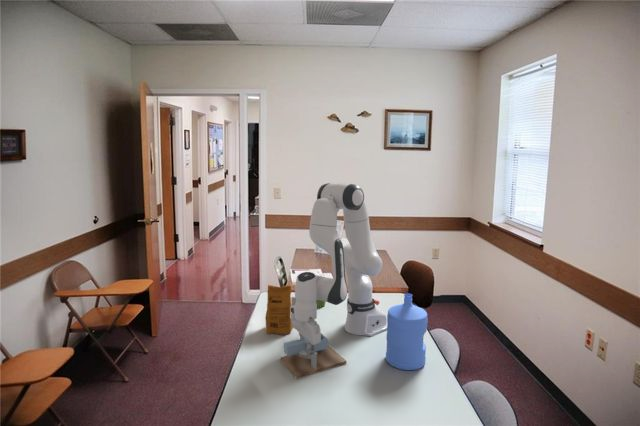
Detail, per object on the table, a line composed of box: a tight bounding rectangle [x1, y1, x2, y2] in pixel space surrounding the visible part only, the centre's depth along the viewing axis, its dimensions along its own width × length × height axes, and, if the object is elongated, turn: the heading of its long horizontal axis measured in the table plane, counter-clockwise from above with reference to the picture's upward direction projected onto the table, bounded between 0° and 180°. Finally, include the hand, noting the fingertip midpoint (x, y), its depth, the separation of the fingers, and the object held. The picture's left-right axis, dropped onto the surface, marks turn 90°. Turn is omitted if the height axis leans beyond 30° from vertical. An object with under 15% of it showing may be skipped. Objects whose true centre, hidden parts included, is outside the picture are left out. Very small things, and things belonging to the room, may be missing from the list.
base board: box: [279, 344, 347, 379], centre depth 172 cm, size 22×15×1 cm
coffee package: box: [265, 284, 293, 336], centre depth 198 cm, size 10×12×22 cm
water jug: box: [385, 293, 429, 371], centre depth 171 cm, size 16×16×28 cm
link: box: [283, 333, 329, 356], centre depth 175 cm, size 17×6×4 cm, turn 118°
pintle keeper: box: [299, 339, 322, 369], centre depth 171 cm, size 16×6×6 cm, turn 157°
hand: (305, 345), depth 175 cm, fingers closed on link, 3 cm apart
